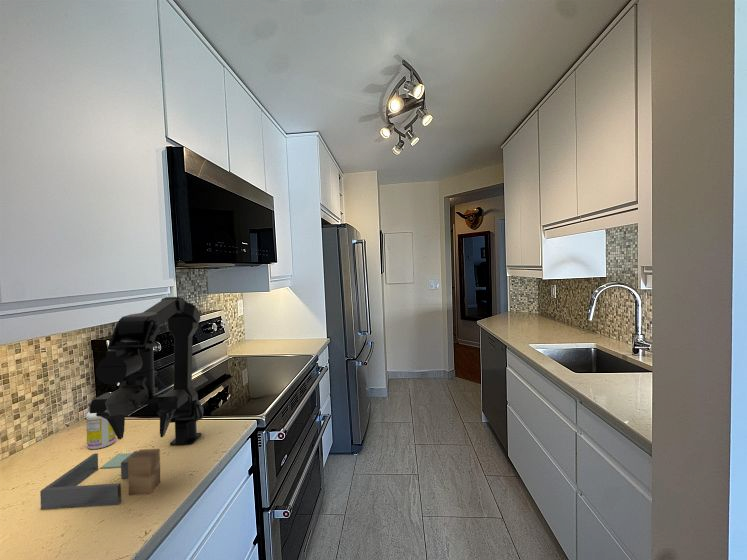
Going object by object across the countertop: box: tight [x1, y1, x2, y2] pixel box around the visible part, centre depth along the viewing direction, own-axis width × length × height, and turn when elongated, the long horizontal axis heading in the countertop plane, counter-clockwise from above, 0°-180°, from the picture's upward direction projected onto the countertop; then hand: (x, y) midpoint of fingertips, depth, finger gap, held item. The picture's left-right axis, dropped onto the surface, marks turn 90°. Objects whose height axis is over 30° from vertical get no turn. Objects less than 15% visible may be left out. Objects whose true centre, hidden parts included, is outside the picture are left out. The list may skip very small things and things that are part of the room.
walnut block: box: [127, 448, 161, 496], centre depth 80 cm, size 4×4×8 cm
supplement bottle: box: [85, 411, 117, 450], centre depth 102 cm, size 7×7×13 cm
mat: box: [100, 452, 133, 470], centre depth 93 cm, size 7×8×1 cm
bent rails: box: [39, 450, 139, 511], centre depth 82 cm, size 16×16×4 cm
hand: (141, 437), depth 80 cm, fingers open, 9 cm apart
